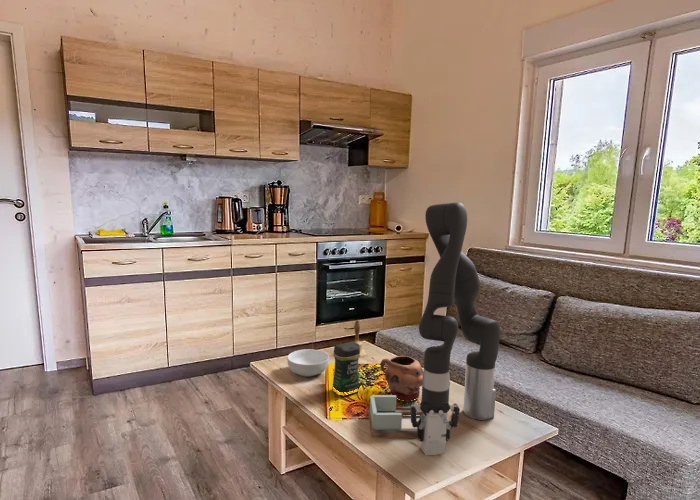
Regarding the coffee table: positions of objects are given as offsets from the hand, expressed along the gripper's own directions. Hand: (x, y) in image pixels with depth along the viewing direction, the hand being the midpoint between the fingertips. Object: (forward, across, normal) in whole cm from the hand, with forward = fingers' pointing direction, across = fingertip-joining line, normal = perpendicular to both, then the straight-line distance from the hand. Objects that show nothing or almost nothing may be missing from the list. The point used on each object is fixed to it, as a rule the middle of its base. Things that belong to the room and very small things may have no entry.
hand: (433, 439), depth 123 cm
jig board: (+3, +7, -14) cm, 16 cm away
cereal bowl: (+4, +39, -54) cm, 67 cm away
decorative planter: (+3, +4, -34) cm, 34 cm away
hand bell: (+3, +18, -75) cm, 77 cm away
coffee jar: (+3, +24, -37) cm, 44 cm away
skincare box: (+3, 0, 0) cm, 3 cm away
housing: (+2, +12, -14) cm, 19 cm away
